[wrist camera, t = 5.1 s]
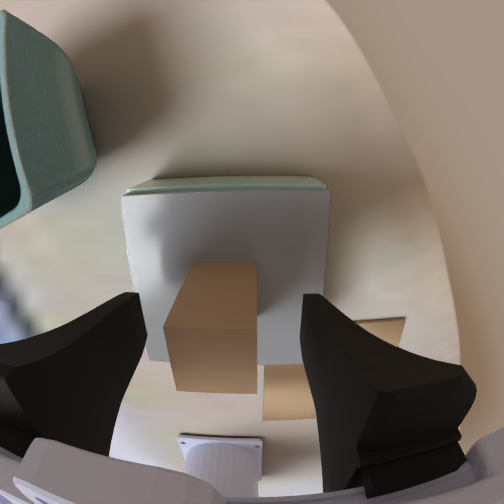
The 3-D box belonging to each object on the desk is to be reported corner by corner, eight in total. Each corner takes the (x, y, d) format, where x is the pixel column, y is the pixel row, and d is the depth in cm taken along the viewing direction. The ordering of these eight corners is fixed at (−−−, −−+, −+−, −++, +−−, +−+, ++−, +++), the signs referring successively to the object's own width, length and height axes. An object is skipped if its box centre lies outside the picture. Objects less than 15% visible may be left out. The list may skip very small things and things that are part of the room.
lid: (311, 353, 16) (330, 436, 11) (153, 351, 16) (122, 428, 11) (326, 189, 13) (375, 224, 7) (127, 193, 13) (56, 229, 7)
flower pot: (6, 109, 14) (-88, 116, 6) (99, 46, 13) (4, 3, 5) (34, 219, 17) (-57, 269, 9) (133, 173, 16) (35, 209, 8)
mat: (373, 408, 23) (374, 410, 23) (263, 417, 23) (263, 420, 23) (403, 317, 19) (405, 319, 19) (265, 324, 19) (265, 327, 19)
